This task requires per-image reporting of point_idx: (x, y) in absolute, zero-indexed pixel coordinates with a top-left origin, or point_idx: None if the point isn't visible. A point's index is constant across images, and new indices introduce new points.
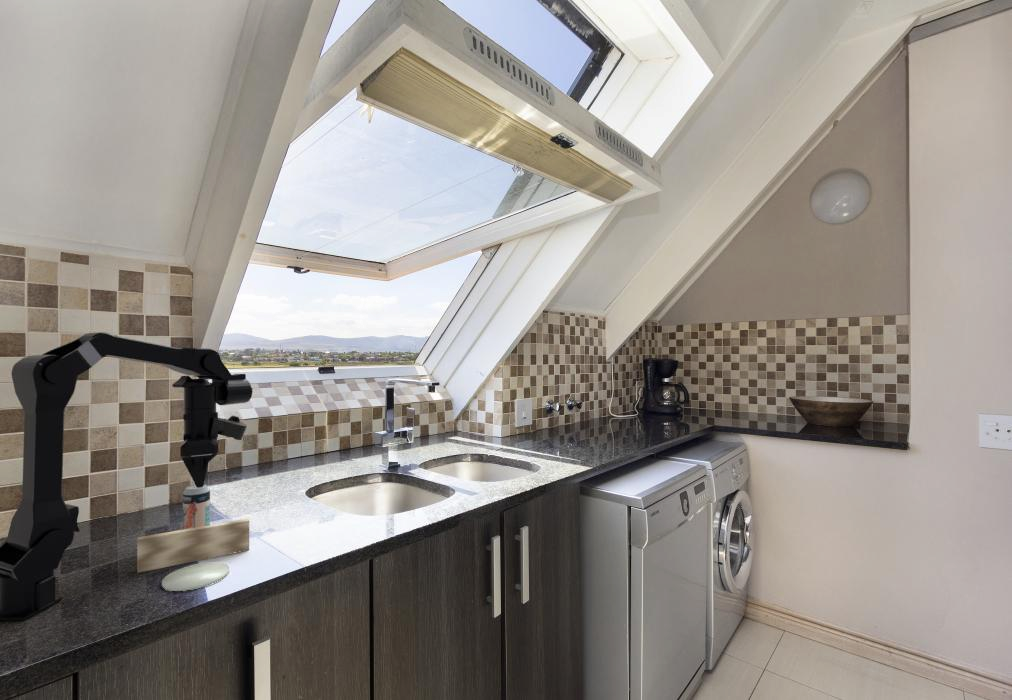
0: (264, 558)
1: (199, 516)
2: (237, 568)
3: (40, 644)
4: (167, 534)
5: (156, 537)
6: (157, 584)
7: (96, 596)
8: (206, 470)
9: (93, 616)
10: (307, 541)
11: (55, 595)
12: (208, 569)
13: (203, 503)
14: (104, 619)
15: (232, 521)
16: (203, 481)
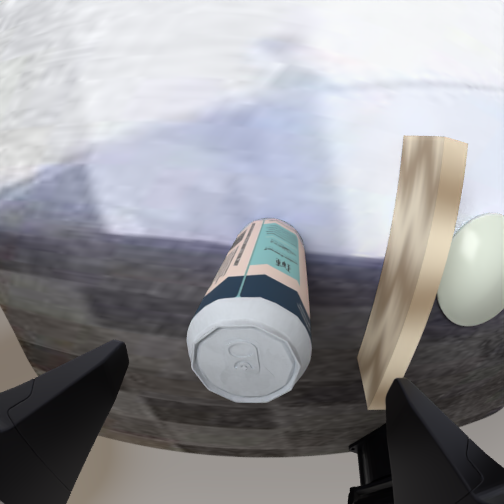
0: (489, 131)
1: (307, 288)
2: (499, 196)
3: (485, 406)
4: (407, 365)
5: None
6: (454, 328)
7: None
8: (474, 443)
9: (475, 383)
10: (442, 13)
11: (381, 429)
12: (485, 252)
13: (303, 300)
14: (493, 371)
15: (441, 194)
16: (425, 399)
